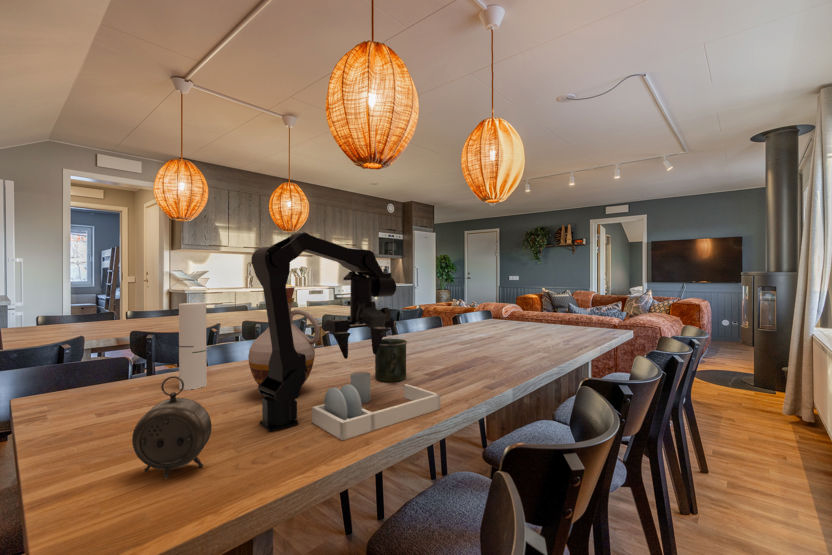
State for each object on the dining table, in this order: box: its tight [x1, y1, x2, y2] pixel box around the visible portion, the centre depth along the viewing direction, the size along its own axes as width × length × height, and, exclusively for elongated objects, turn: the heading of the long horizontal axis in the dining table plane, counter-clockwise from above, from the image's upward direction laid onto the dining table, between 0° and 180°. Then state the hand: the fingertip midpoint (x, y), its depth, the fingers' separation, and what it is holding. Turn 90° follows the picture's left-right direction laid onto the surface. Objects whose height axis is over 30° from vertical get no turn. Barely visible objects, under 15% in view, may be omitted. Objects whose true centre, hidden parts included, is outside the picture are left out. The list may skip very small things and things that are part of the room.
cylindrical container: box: [178, 302, 208, 391], centre depth 117 cm, size 7×7×25 cm
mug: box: [374, 338, 408, 383], centre depth 125 cm, size 11×15×12 cm
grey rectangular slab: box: [350, 371, 371, 404], centre depth 104 cm, size 5×5×7 cm
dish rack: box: [311, 383, 442, 441], centre depth 92 cm, size 28×13×9 cm, turn 132°
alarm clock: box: [131, 375, 212, 479], centre depth 65 cm, size 11×5×16 cm, turn 102°
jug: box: [247, 286, 321, 388], centre depth 111 cm, size 20×18×30 cm
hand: (360, 356), depth 104 cm, fingers open, 9 cm apart
